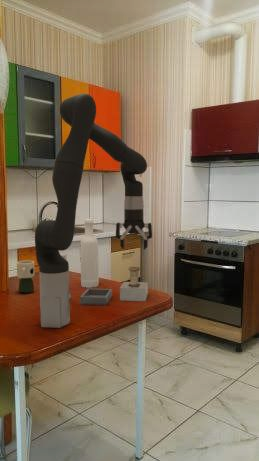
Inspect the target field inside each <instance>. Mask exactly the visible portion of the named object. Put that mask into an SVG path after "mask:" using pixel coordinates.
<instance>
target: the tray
mask: <svg viewBox="0 0 259 461" xmlns="http://www.w3.org/2000/svg"><path fill="white" fill-rule="evenodd" d="M112 298H113V289H112V288H110V289H109V288H105V289H104V288H86V290H85V291H84V292H83V293H82V294H81V295H80V299H79V301H80V303H79V304H80V305H81V306H82V305H83V306H84V305H85V306H107V305H108V304H109V303H110V301H111V299H112Z"/></svg>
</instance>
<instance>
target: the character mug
mask: <svg viewBox="0 0 259 461" xmlns="http://www.w3.org/2000/svg"><path fill="white" fill-rule="evenodd" d="M35 274H36V273H35V261H34V260H20V261H17V262H16V277H17V278H19V282H18V292H19V293H25V294H27V293H33V292H34V291H35V285H34V281H33V277H35V276H36V275H35Z"/></svg>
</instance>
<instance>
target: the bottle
mask: <svg viewBox="0 0 259 461" xmlns="http://www.w3.org/2000/svg"><path fill="white" fill-rule="evenodd" d="M79 246H80V285H81V287H82V288H85V287H86V288H85V289H93V288H97V287H99V282H100V280H99V279H100V278H99V242H98V239H97V237H96V236H95V235H94V219H92V218H86V219H84V235H83V236H82V238H81V240H80V244H79ZM92 287H93V288H92Z"/></svg>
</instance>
